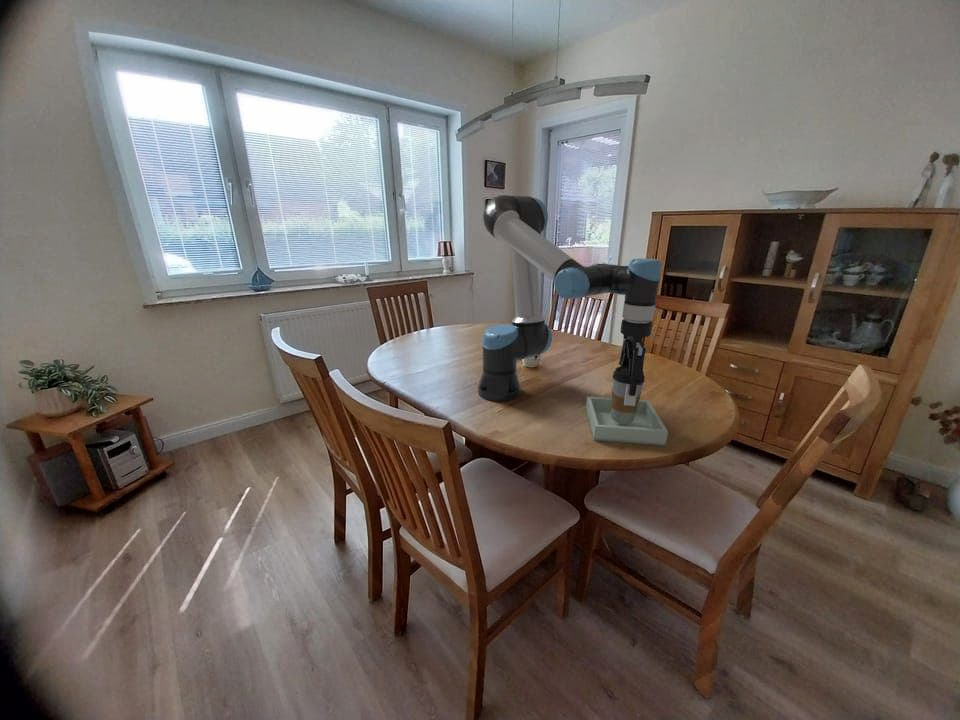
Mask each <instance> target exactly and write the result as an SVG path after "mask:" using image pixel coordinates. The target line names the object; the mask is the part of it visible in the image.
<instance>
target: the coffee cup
mask: <svg viewBox="0 0 960 720" xmlns="http://www.w3.org/2000/svg"><path fill="white" fill-rule="evenodd" d="M620 366H621V365H620ZM620 366H618V367H616V368H615V370H614V371H613V373H612V389H611V398H612V401H611V417H612V419H613V420H614V421H616V422H618V423H622V424H629V423H632V422H633V421H634V419H635V415H636V412H637V408H638V404H639V400H641V395H642V390H643V387H644V383H645V379H646V378H645V377H646V376H645V375H644V374H645V373H644V371H643V374H642V384H641V385H638V389H637V396H636V402H635V406H629V405H624V400H625V393H626V386H627V384H626V382H628V381H629V366H621V367H620Z"/></svg>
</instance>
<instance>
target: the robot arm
mask: <svg viewBox="0 0 960 720" xmlns="http://www.w3.org/2000/svg"><path fill="white" fill-rule="evenodd" d="M548 213H549V212H548V210H547V207H546V204H545V203H544V202H543V201H542V200H541V199H539V198H538V197H532V196H530V195H527V196H525V195H524V196H523V195H508V194H507V195H506V194H501V195H498V196H494V197H493V198H492V199H490V200H489V201H488V202H487V204H486V205H485V207H484V210H483V213H482V220H483V225H484V226H485V229H486V231H488V233H489V235H491V236H492V238H494V239H496V241H499V242H505V243H506V244H507V245H509V247H511V254H512V257H511V258H512V273H513V275H512V277H513V288H514V293H513V294H514V308H515V316H514V318H513V319H512V320H511V324H508V323H504V324H496V325H492V326H490V327H487V329H485V331H484V332H483V334H482V344H481V345H482V373H481V376H480V379H479V383H478V385H477V393H478V396H480V397H481V398H483V399H485V400H487V401H494V402H506V401H510V400H511V401H512V400H516V399H517V398H518V397H520V396H521V392H522V391H521V390H522V386H521V383H520V379H519V376H518V373H517V363H518V361H522V360H526V359H528V358H533V357H537V356H540V355H541V354H544V353H546V352H547V351H548V350H549V348H550V347H551V345H552V340H553V334H552V330H551V329H550V326H549V325H548V324H547V323H545V321H546V319H545V317H543V316H542V314H541V307H540V306H541V305H540V284H539V283H540V282H539V271H540V272H542V273H543V274H544V275H545V276H547V277H548V278H549V279H550V280H551V281H552V282H553V285H554V290H556V291H555V292H556V294H557V295H558V297H561V298H563V299H565V300H571V299H572V300H575V299H581V298H585V297H590V296H597V295H601V294H603V295H604V294H614V295H622V296H624V301H623V307H622V308H623V309H622V313H621V314H622V315H621V316H622V320H621V325H620V333H621V334H622V335H623V339H622V341H623V342H622V345H621V352H620V355H619V356H620V357H619V361H618V366H619V367H621V366H629V381H628V382H626V384H627V386H626V393H625V400H624V405H629V406H635V402H636V396H637V389H638V385H641V384H642V374H643V372H644V363H645V355H646V351H647V350H646V347H644V342H643V339H644V338H648V337H650V336H651V334H652V330H653V324H654V323H653V320H654V316H655V312H657V307H656V303H657V297H658V292H659V286H660V281H661V274H662V262H661V260H659V259H656V258H632V259H631V260H630V261H629V264H628V265H618V264H610V263H605V262H604V263H592V264H591V265H590V266H584V265H582V264H581V263H579V262H578V261H577V260H575V259H574V258H573V257H572V256H570V255H569V254H567V253H566V252H564V251H563V250H562V249H561V248H560V247H558V246H556V245H555V244H554V243H552V242H551V241H550V240H549V239H547V238H545V236H544V235H542V232H544V231H545V229H546V226H548V221H549V215H548Z"/></svg>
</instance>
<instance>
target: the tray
mask: <svg viewBox="0 0 960 720" xmlns="http://www.w3.org/2000/svg"><path fill="white" fill-rule="evenodd" d="M611 401H612V397H600V396H599V397H597V396H586V404H585V405H586V406H585V411H586V415H587V420H588V423H589V427H590V430H591V431H590V432H591V436H592V440H593V441H595V442H596V441H598V442H607V443H608V442H609V443H611V442H612V443H623V444H624V443H625V444H633V445H635V444H637V445H649V446H662V447H666V444H667V439H668V435H669V430H668V429H667V428H666V426H665V424H664V423H663V421H662V419H661V418H660V417H659V415H658V413H657V411H656V410H655V408H654V407H653V405H652V404H651V402H650V401H649V400H648V399H647V400H646V399H640V400H639V404H638V408H637V412H636V415H635V419H634V421H633V422H632V423H629V424H622V423H618V422H616V421H614V420H613V419H612V417H611Z"/></svg>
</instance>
